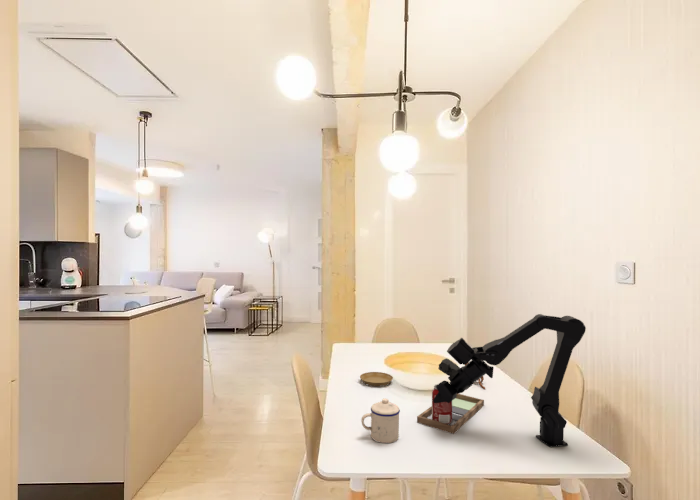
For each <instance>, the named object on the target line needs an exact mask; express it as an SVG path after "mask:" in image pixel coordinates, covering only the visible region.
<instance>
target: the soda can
mask: <svg viewBox="0 0 700 500" xmlns="http://www.w3.org/2000/svg"><path fill="white" fill-rule="evenodd" d="M438 384H439V383H438ZM438 384H435V385H434V386H433V389H432V391H431V406H432V414H431V420H435V421H438V422H441V423H445V424H448V425H451V423H453V422H452V421H453V420H452V413H453V412H452V401H451V402H450V403H447V402H441V403H434V402H433V399H434V398H435V397H436V395H437V394H438V392H439V391H438V390H437V388H436V386H437V385H438Z"/></svg>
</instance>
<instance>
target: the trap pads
mask: <svg viewBox="0 0 700 500" xmlns="http://www.w3.org/2000/svg"><path fill="white" fill-rule="evenodd" d="M467 412H468V410H464V409H460V408H456V407H453V406H452V421H455V422H457V421H458V420H459V419H460V418H461V417H462V416H463V415H465V414H466V413H467Z"/></svg>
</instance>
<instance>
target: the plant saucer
mask: <svg viewBox="0 0 700 500" xmlns="http://www.w3.org/2000/svg"><path fill="white" fill-rule="evenodd" d="M359 378H360V380H361V381H362V382H363V383H364V384H365V385H367V386H370V387H385V386H387V385H389V384H390V383H391V382H392V380H394V377H393V375H391V374H388V373H385V372H380V371H369V372H368V371H367V372H365V373H362V374H360V376H359Z"/></svg>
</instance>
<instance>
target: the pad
mask: <svg viewBox="0 0 700 500" xmlns="http://www.w3.org/2000/svg"><path fill="white" fill-rule="evenodd" d="M475 405H476V403H472V402H468V401H465V400H461V399H457V398H455V399H454V400H452V406H453V407H456V408H460V409H464V410H468V411H469V410H470V409H471V408H472V407H473V406H475Z"/></svg>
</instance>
